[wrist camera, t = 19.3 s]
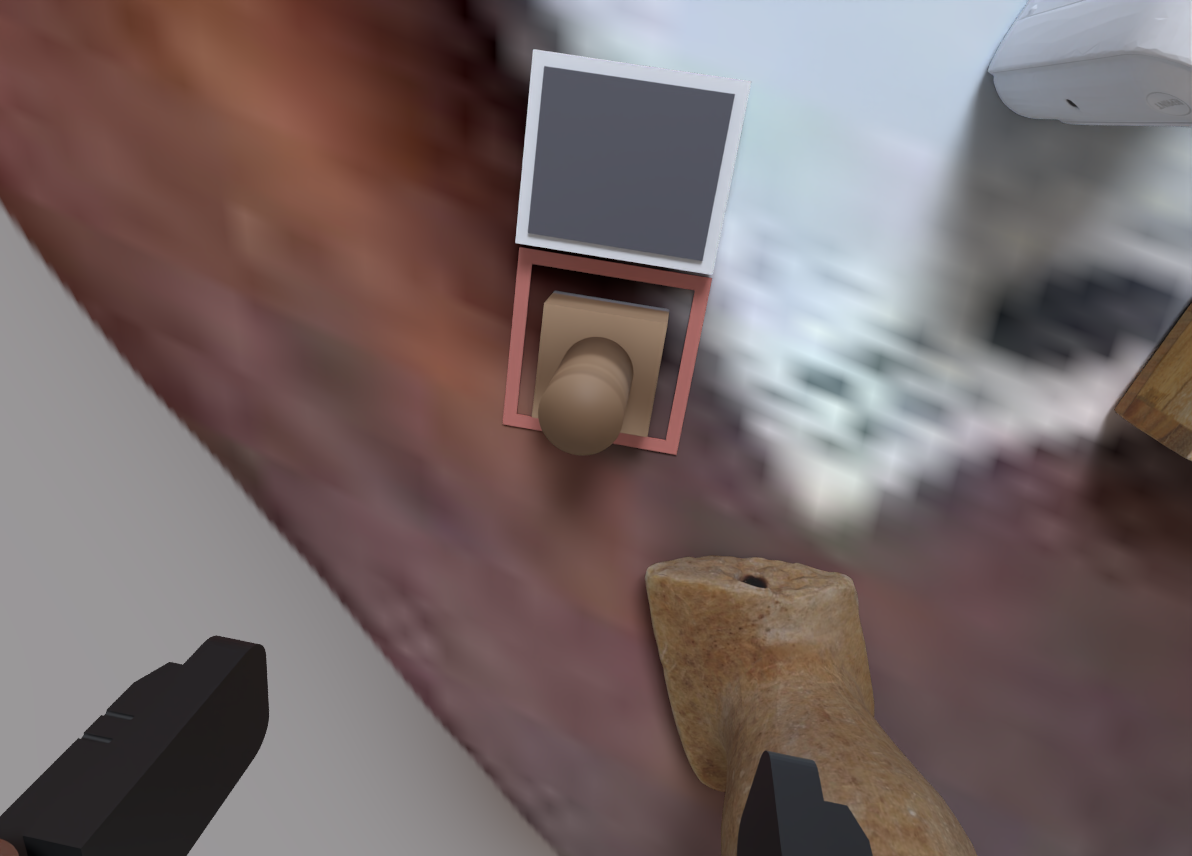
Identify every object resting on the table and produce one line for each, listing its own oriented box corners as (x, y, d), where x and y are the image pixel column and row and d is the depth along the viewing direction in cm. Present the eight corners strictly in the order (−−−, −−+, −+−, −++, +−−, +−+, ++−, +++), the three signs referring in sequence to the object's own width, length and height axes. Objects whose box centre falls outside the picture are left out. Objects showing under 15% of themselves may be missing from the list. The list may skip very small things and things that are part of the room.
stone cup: (910, 764, 39) (1031, 1113, 25) (688, 775, 41) (688, 1101, 27) (897, 518, 34) (1041, 789, 20) (643, 545, 36) (613, 807, 22)
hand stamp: (554, 290, 31) (516, 336, 25) (669, 309, 31) (663, 360, 24) (542, 397, 33) (504, 467, 27) (650, 415, 33) (639, 491, 26)
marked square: (520, 247, 31) (519, 247, 31) (711, 278, 30) (711, 278, 30) (503, 423, 34) (502, 424, 34) (676, 453, 34) (676, 454, 33)
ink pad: (541, 53, 28) (532, 48, 26) (748, 83, 27) (751, 80, 26) (523, 237, 31) (514, 243, 29) (711, 268, 30) (712, 275, 29)
